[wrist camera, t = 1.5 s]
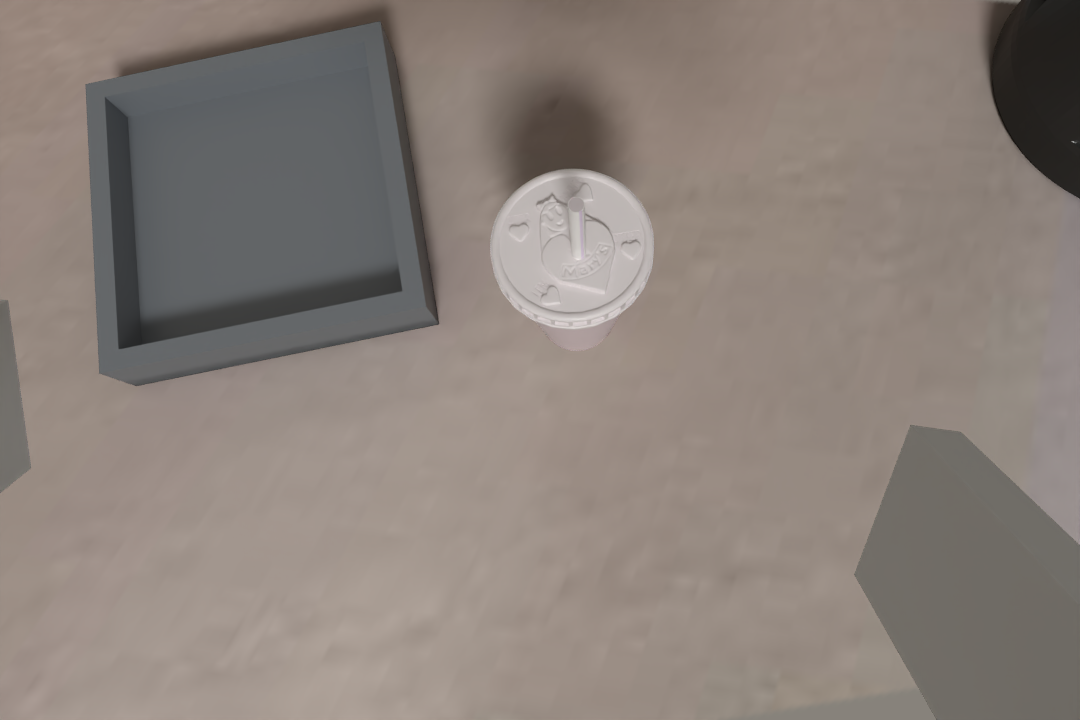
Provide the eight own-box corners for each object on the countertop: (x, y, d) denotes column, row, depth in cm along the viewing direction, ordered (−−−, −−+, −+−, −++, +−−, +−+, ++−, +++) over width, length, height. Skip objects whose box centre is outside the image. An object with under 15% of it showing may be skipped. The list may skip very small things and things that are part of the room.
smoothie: (555, 401, 37) (532, 321, 24) (491, 296, 39) (435, 164, 25) (665, 334, 38) (705, 219, 24) (597, 233, 39) (599, 70, 26)
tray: (395, 56, 42) (380, 21, 39) (438, 324, 39) (426, 306, 36) (120, 115, 43) (85, 84, 40) (136, 385, 39) (99, 373, 36)
